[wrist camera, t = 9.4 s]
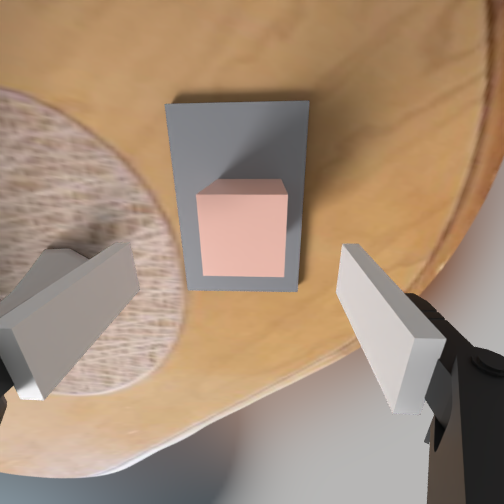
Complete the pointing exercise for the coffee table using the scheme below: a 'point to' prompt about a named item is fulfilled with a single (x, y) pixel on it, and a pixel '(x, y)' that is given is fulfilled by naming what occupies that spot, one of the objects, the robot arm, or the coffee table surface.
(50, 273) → the flask
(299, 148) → the post board
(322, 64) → the coffee table surface
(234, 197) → the pink upright block
